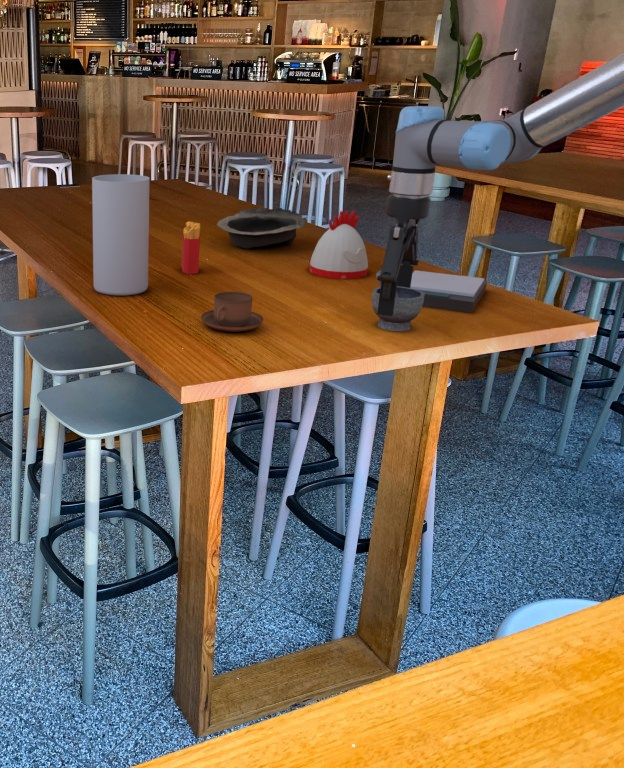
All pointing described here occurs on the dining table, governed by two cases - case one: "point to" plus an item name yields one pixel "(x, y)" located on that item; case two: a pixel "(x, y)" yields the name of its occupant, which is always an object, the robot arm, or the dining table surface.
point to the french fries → (190, 248)
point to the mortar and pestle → (399, 307)
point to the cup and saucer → (232, 313)
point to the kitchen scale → (449, 290)
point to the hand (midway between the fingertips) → (393, 306)
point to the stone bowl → (262, 227)
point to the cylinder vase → (120, 234)
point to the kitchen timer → (340, 250)
